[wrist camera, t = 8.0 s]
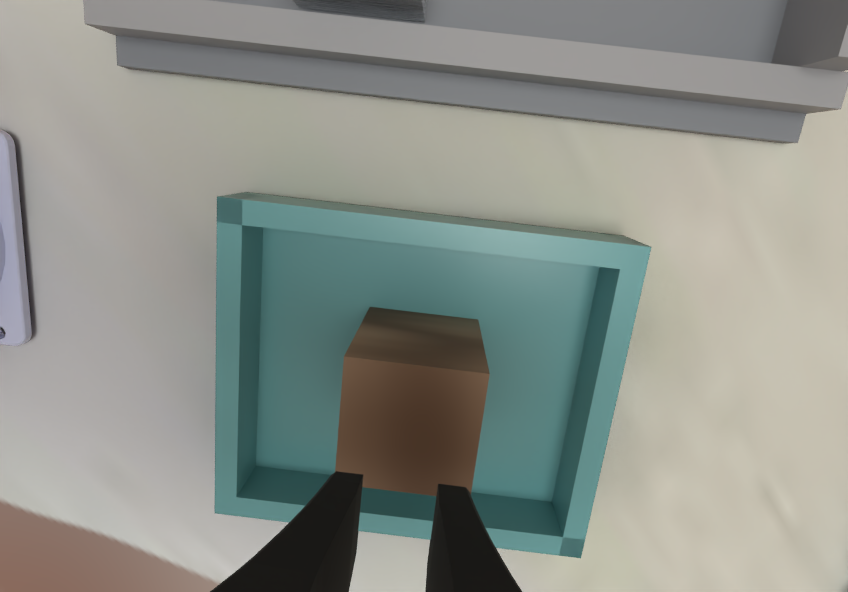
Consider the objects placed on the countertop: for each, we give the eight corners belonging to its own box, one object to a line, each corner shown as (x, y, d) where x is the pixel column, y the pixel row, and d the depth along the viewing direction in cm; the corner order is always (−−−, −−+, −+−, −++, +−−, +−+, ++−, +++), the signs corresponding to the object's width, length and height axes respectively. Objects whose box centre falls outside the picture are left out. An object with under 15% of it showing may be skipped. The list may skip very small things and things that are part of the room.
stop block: (361, 405, 20) (334, 484, 15) (370, 306, 19) (344, 356, 14) (463, 417, 20) (470, 500, 15) (478, 319, 19) (489, 373, 14)
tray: (240, 473, 21) (214, 513, 19) (247, 192, 18) (216, 196, 16) (565, 513, 21) (580, 557, 19) (624, 236, 18) (651, 247, 16)
